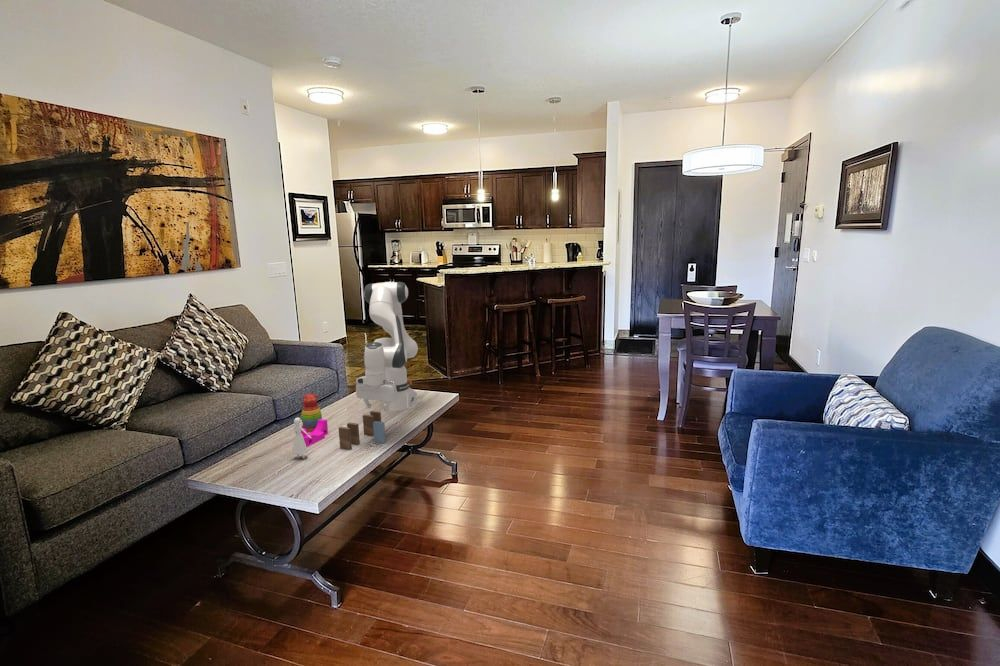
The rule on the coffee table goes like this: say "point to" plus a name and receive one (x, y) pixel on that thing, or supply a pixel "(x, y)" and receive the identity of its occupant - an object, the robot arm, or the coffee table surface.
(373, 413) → the domino
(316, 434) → the toy block
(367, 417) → the domino
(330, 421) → the coffee table surface
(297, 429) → the woman figurine
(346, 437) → the domino
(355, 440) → the domino
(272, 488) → the coffee table surface
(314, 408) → the stacking bear
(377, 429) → the domino
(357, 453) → the coffee table surface
